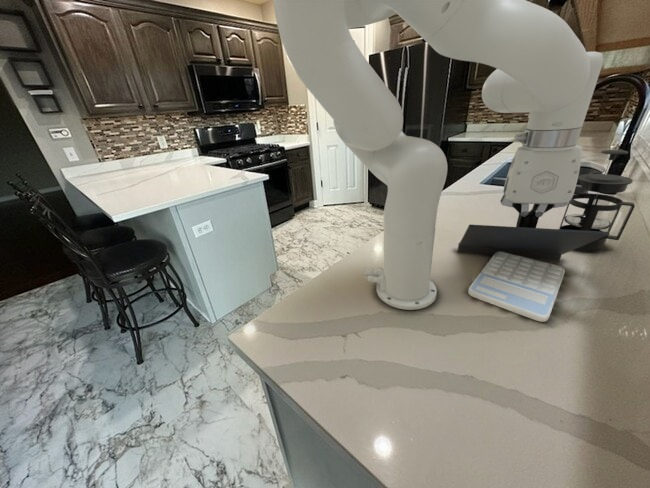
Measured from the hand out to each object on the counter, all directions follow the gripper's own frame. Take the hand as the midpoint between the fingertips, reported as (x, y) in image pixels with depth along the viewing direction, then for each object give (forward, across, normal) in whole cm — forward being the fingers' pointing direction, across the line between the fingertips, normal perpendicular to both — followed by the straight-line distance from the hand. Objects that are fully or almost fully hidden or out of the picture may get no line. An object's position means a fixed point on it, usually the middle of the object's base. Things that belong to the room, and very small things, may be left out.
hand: (524, 231), depth 55 cm
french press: (+11, +18, +17) cm, 27 cm away
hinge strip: (+10, 0, +7) cm, 12 cm away
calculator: (+10, 0, -5) cm, 11 cm away
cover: (+3, 0, +1) cm, 3 cm away
